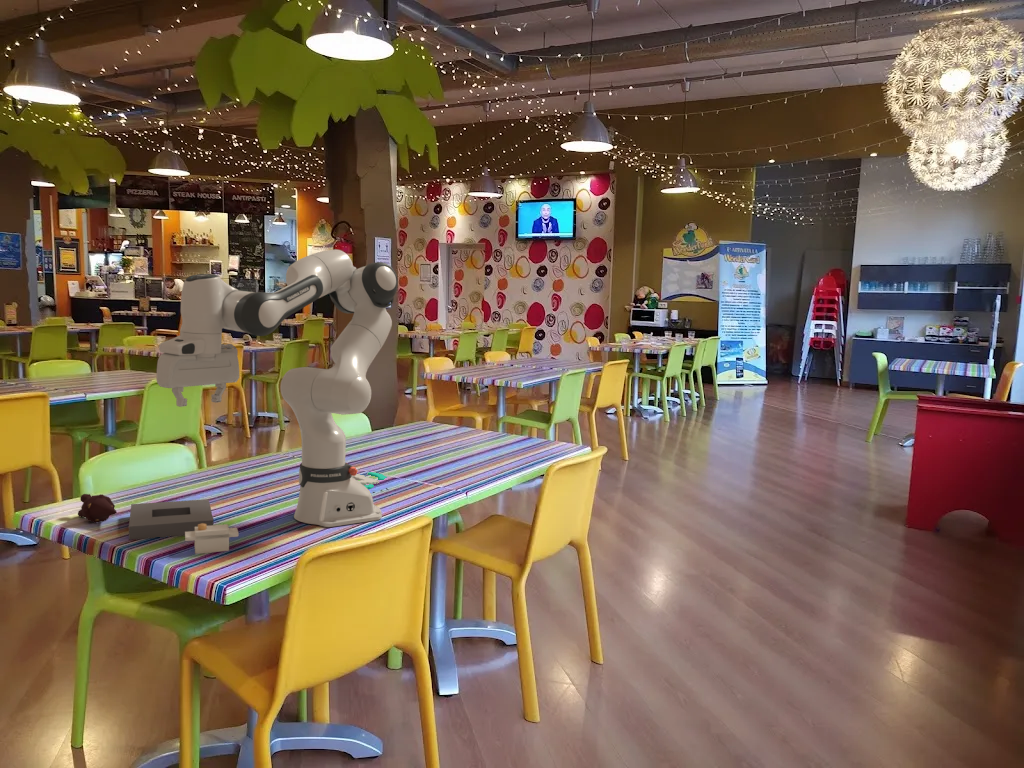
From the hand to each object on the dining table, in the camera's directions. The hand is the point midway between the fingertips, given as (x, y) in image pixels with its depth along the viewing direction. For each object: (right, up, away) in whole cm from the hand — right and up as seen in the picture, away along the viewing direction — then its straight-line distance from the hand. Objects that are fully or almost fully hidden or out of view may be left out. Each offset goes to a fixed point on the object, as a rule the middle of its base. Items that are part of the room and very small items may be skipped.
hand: (199, 404), depth 172 cm
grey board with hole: (-11, -30, +10) cm, 33 cm away
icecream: (-29, -29, +9) cm, 42 cm away
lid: (+22, -26, +58) cm, 68 cm away
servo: (+5, -33, -4) cm, 33 cm away
